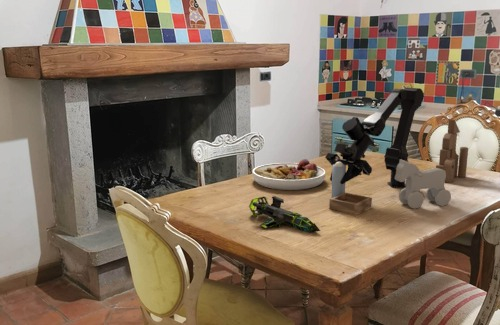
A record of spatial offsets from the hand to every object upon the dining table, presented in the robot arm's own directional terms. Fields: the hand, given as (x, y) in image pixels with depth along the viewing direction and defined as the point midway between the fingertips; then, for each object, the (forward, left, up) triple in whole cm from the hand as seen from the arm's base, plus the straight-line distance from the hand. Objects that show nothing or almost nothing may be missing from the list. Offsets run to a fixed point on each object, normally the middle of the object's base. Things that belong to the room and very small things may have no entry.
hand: (335, 182), depth 182 cm
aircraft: (+23, -20, -8) cm, 32 cm away
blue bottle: (-1, +1, -7) cm, 7 cm away
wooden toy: (-29, +55, -7) cm, 63 cm away
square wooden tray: (+9, +4, -7) cm, 12 cm away
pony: (+6, +29, -7) cm, 31 cm away
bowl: (-28, -14, -8) cm, 32 cm away
